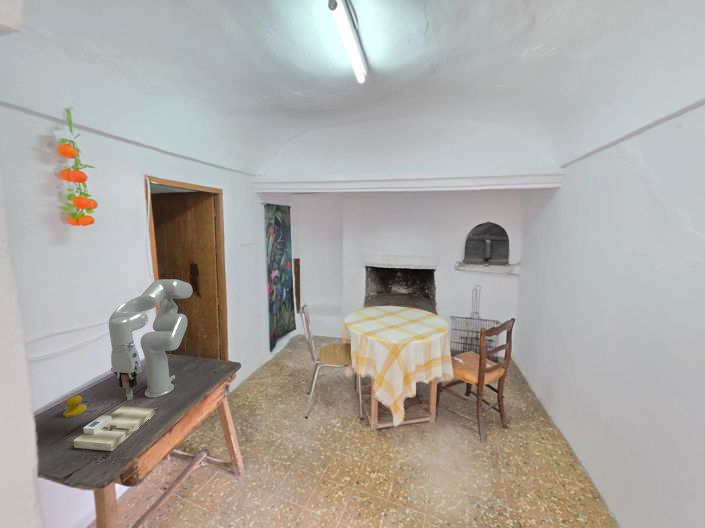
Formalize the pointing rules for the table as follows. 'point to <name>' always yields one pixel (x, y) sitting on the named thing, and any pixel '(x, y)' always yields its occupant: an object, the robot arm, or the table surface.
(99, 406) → the table surface
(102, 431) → the cream slotted tray
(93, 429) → the block
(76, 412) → the doorknob
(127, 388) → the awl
